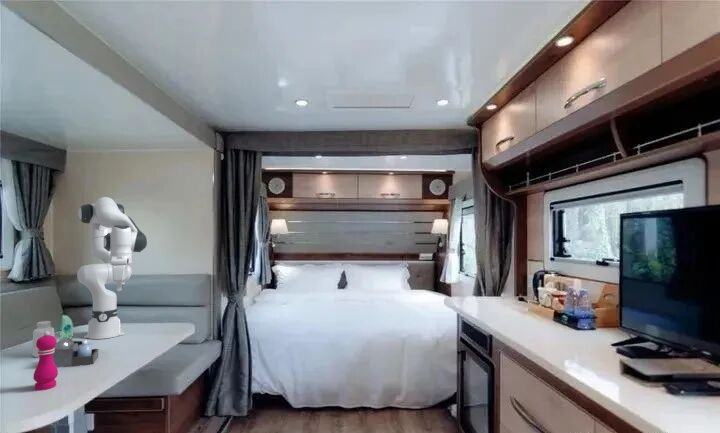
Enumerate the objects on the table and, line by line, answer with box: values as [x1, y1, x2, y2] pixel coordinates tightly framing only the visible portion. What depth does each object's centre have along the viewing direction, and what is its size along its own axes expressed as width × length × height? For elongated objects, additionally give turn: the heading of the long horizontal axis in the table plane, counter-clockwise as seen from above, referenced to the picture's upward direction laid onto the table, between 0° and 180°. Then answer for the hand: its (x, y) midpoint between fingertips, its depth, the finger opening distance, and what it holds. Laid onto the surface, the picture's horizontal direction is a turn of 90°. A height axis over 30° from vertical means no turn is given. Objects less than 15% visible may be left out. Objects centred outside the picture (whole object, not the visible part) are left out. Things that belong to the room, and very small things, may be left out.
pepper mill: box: [32, 331, 59, 391], centre depth 158 cm, size 7×7×20 cm
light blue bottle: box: [78, 339, 93, 357], centre depth 189 cm, size 5×5×9 cm
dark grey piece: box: [53, 337, 99, 368], centre depth 187 cm, size 13×16×10 cm
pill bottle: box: [31, 320, 55, 358], centre depth 199 cm, size 8×8×15 cm
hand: (120, 289), depth 203 cm, fingers open, 8 cm apart
